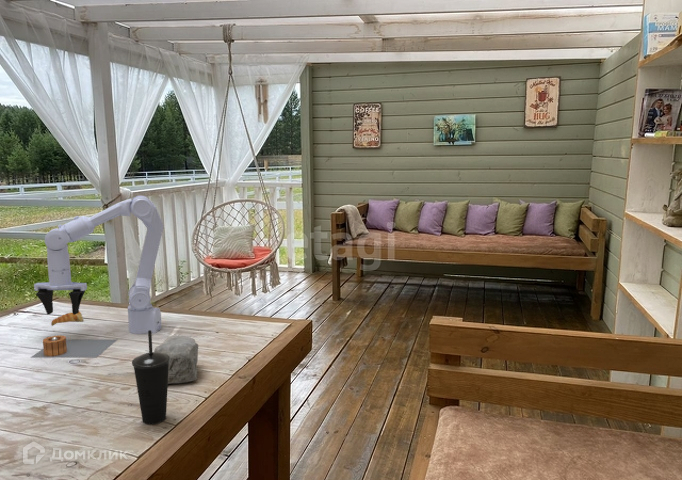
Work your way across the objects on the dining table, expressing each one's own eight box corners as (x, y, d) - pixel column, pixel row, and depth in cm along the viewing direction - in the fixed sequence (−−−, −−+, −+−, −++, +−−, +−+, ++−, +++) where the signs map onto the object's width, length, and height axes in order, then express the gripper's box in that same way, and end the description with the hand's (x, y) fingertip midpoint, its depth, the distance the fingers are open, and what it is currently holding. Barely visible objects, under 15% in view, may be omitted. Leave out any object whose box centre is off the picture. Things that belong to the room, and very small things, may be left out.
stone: (152, 369, 136) (151, 333, 134) (197, 364, 140) (196, 329, 138) (152, 390, 124) (150, 351, 122) (201, 383, 128) (200, 345, 126)
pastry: (55, 329, 166) (54, 318, 166) (48, 325, 171) (47, 314, 170) (85, 323, 173) (84, 312, 172) (78, 319, 177) (77, 308, 177)
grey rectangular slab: (117, 344, 154) (117, 339, 153) (96, 362, 140) (96, 357, 140) (57, 343, 153) (57, 339, 153) (30, 362, 139) (30, 357, 139)
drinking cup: (141, 410, 114) (136, 325, 111) (176, 409, 114) (172, 324, 111) (130, 428, 106) (125, 337, 103) (167, 427, 107) (163, 336, 104)
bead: (70, 348, 146) (69, 335, 145) (60, 356, 140) (59, 342, 139) (50, 348, 145) (49, 335, 145) (39, 356, 140) (38, 342, 139)
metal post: (59, 351, 143) (58, 336, 143) (56, 353, 142) (55, 338, 141) (54, 351, 143) (53, 336, 143) (51, 353, 142) (50, 338, 141)
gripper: (26, 272, 146) (30, 317, 148) (77, 272, 146) (80, 317, 148) (40, 266, 153) (44, 310, 155) (88, 267, 153) (92, 310, 155)
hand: (62, 313), depth 152 cm, fingers open, 7 cm apart
